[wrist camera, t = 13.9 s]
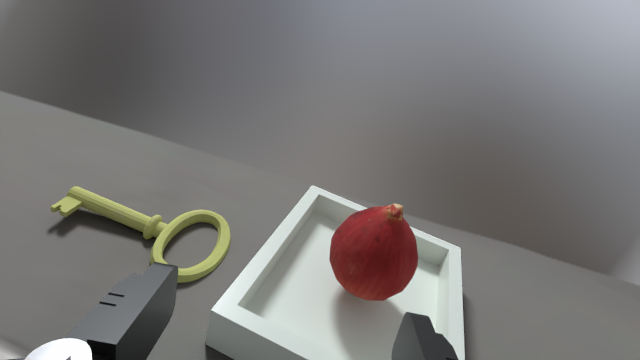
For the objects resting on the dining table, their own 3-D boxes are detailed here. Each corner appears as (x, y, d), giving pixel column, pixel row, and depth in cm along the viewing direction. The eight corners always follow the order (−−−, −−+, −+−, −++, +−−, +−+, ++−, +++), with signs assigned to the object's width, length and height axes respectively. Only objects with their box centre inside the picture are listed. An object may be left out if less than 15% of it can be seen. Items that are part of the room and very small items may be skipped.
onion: (301, 274, 25) (332, 182, 22) (358, 254, 29) (393, 172, 25) (351, 340, 22) (399, 245, 18) (409, 309, 25) (460, 223, 21)
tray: (205, 344, 20) (211, 309, 19) (304, 210, 34) (312, 185, 32) (440, 469, 18) (467, 441, 17) (445, 272, 32) (460, 247, 30)
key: (69, 204, 27) (67, 181, 26) (231, 225, 30) (235, 205, 29) (14, 275, 21) (8, 249, 20) (224, 292, 24) (228, 270, 23)
